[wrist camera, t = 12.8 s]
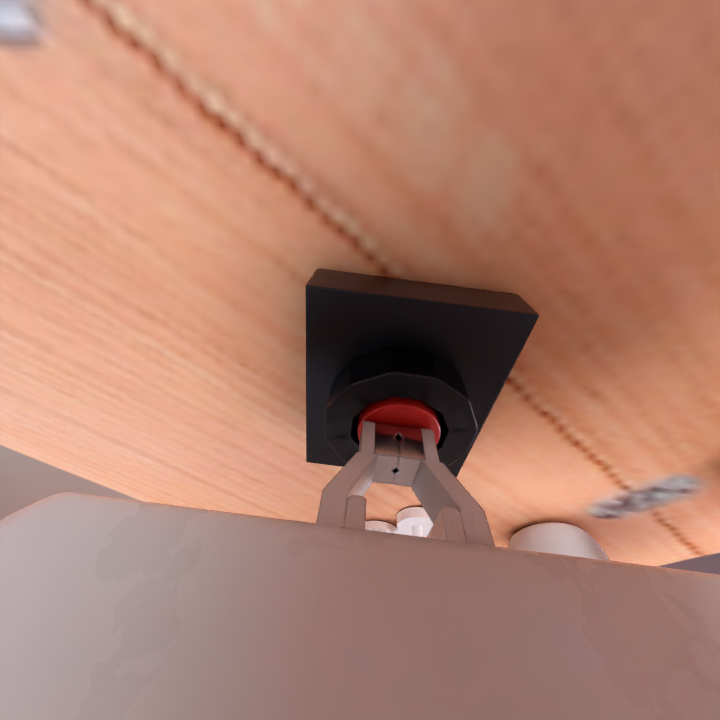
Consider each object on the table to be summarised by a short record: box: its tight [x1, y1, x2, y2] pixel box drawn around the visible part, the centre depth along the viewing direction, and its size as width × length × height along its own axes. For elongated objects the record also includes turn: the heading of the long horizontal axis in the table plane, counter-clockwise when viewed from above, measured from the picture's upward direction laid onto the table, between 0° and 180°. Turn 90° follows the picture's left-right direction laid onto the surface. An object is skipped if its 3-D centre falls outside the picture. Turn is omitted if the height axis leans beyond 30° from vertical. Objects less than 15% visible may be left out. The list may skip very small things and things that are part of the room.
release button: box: [357, 397, 441, 445], centre depth 13 cm, size 4×4×2 cm
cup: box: [508, 522, 610, 561], centre depth 21 cm, size 11×8×8 cm
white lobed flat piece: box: [365, 507, 433, 537], centre depth 25 cm, size 9×9×2 cm
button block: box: [306, 269, 539, 477], centre depth 14 cm, size 11×9×4 cm
